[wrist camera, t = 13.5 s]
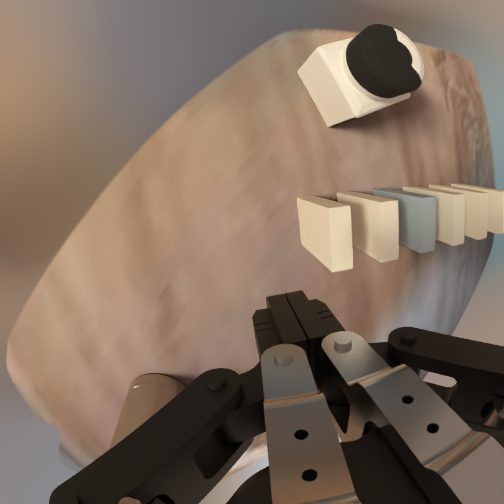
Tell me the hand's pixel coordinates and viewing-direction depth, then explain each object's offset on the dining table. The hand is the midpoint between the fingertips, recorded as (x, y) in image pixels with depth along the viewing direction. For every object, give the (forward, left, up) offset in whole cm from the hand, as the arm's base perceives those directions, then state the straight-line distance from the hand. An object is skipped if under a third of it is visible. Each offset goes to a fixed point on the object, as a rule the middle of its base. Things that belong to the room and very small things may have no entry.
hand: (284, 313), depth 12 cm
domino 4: (0, -20, -18) cm, 27 cm away
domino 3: (0, -15, -18) cm, 24 cm away
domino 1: (0, -6, -18) cm, 19 cm away
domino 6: (0, -29, -18) cm, 34 cm away
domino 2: (0, -11, -18) cm, 21 cm away
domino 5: (0, -24, -18) cm, 30 cm away
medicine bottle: (+14, -12, -18) cm, 26 cm away
